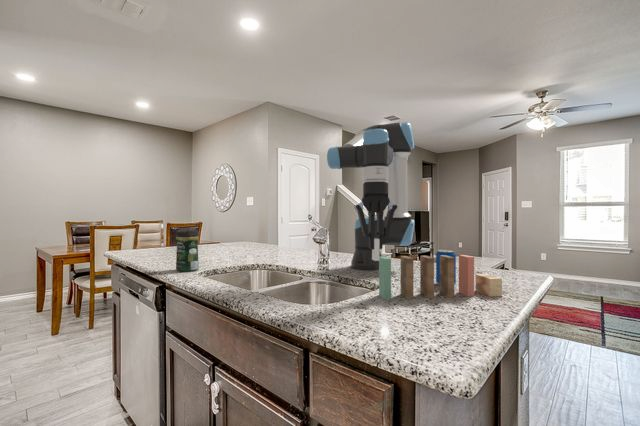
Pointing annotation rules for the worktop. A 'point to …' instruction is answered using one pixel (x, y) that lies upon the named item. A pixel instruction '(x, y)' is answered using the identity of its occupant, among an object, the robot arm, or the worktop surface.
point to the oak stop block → (489, 285)
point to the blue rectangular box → (440, 252)
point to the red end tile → (466, 275)
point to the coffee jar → (187, 250)
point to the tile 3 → (427, 276)
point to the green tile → (385, 278)
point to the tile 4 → (447, 275)
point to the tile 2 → (407, 277)
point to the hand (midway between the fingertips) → (375, 260)
